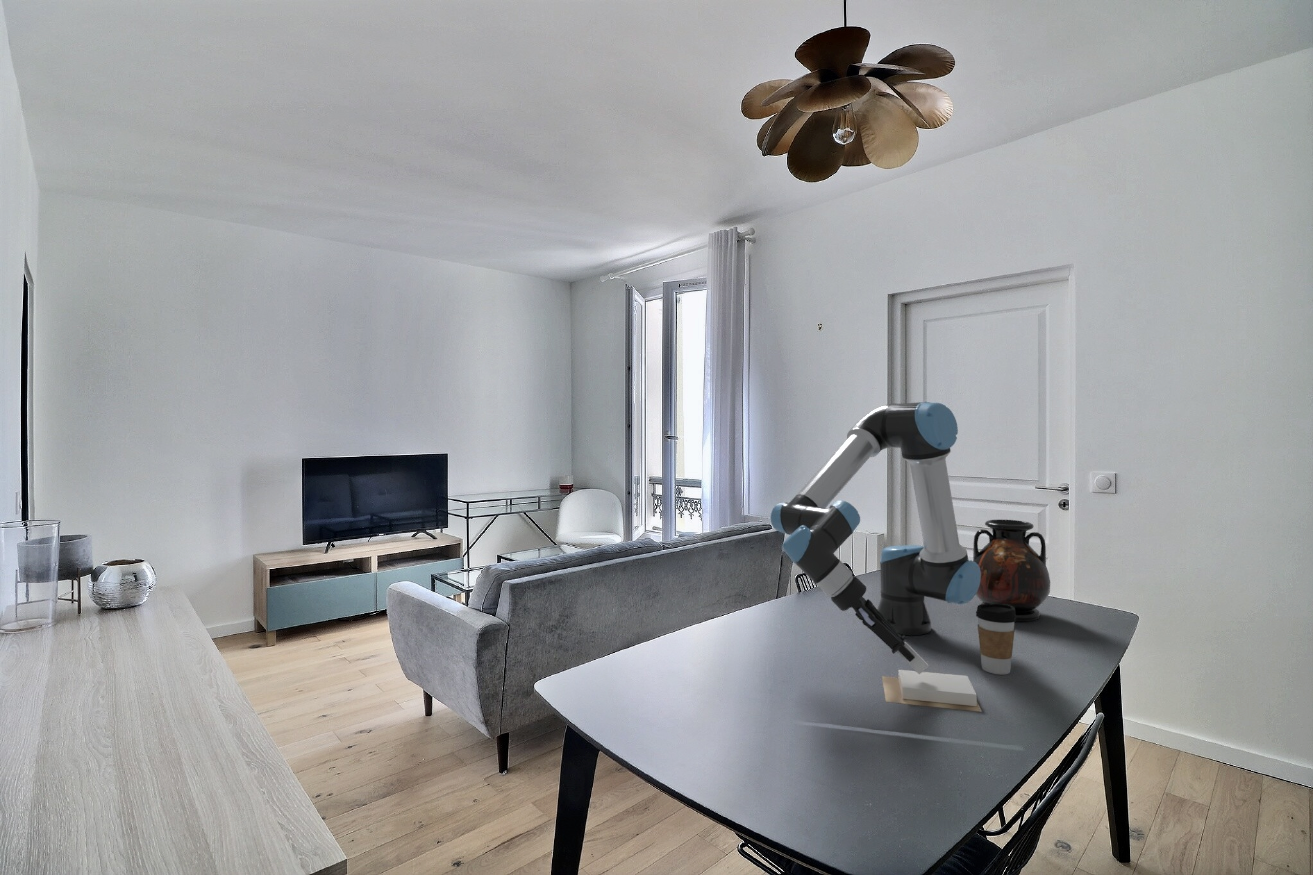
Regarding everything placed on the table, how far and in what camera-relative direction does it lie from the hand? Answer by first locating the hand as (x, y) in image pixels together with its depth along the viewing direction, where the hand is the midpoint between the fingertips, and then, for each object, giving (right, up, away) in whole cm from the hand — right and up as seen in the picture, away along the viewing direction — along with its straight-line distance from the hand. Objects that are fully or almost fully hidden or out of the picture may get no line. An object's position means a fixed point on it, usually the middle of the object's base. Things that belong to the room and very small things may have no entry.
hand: (923, 669), depth 137 cm
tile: (-4, -4, +1) cm, 6 cm away
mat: (+1, -6, 0) cm, 6 cm away
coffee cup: (+23, -5, +14) cm, 27 cm away
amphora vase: (+49, -4, +57) cm, 76 cm away
